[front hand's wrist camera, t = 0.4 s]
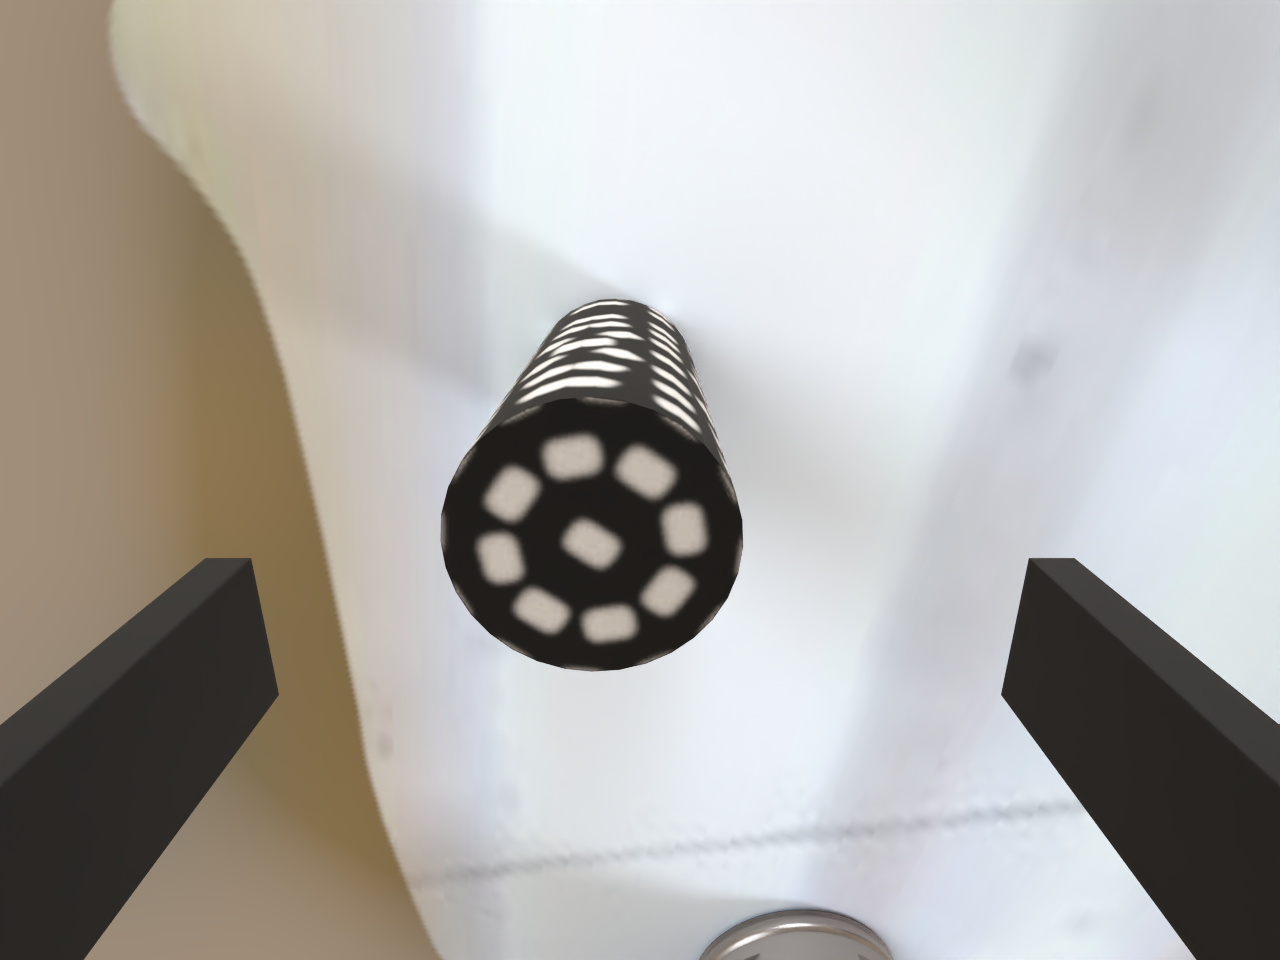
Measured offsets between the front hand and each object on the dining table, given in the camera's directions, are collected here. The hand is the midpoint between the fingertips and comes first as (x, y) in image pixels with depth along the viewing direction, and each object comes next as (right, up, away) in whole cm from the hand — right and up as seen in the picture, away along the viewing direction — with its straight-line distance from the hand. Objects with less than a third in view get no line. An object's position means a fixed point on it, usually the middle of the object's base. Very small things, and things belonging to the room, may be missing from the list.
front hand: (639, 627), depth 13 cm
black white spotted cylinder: (-1, +4, +17) cm, 18 cm away
